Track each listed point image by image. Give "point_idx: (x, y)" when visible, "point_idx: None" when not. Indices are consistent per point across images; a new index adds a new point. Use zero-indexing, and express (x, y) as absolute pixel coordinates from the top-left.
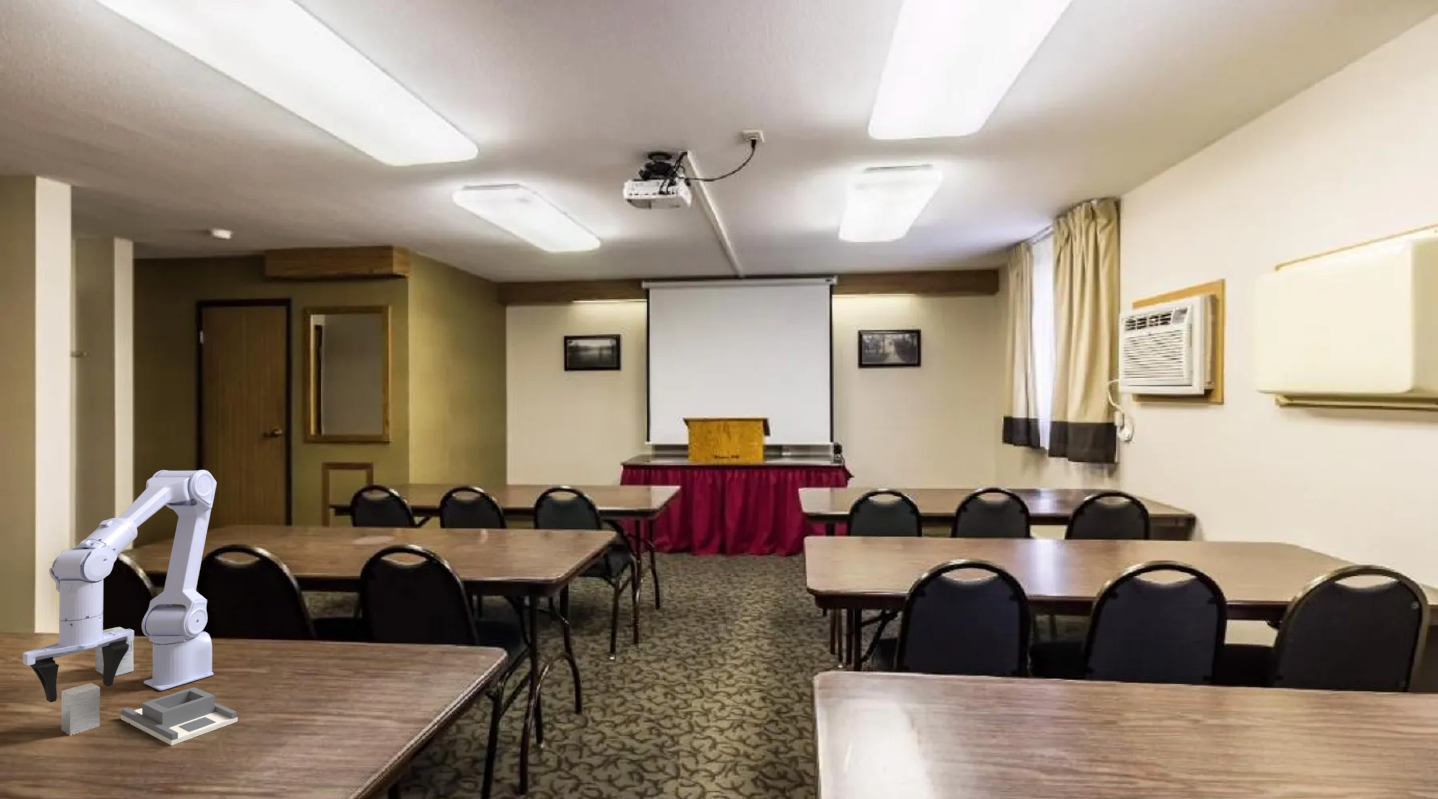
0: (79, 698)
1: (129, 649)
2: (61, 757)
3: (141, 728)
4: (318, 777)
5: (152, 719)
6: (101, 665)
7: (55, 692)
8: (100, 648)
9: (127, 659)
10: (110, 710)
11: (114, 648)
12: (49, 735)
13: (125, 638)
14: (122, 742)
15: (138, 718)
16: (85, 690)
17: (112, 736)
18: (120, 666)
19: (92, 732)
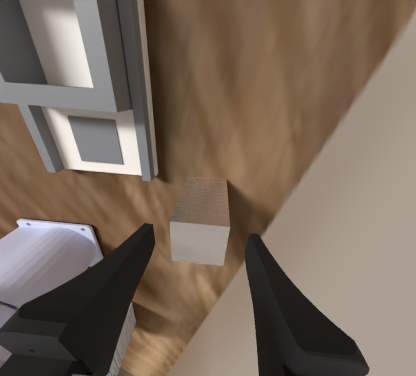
0: (212, 216)
1: None
2: (288, 81)
3: (148, 71)
4: None
5: (121, 37)
6: (130, 324)
7: (258, 248)
8: (120, 351)
9: None
10: (157, 220)
11: (55, 341)
12: (238, 206)
13: None
14: (197, 29)
15: (142, 95)
16: (197, 228)
17: (194, 98)
18: None
19: (204, 158)
